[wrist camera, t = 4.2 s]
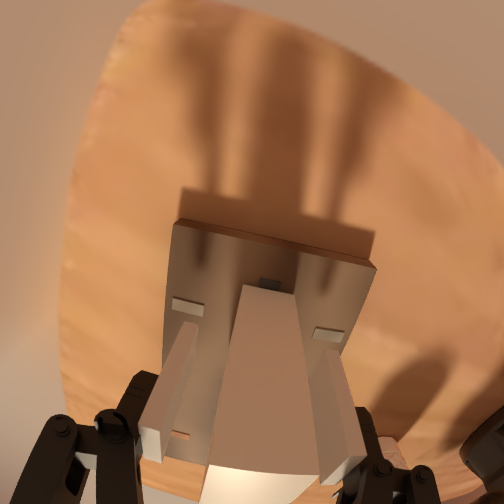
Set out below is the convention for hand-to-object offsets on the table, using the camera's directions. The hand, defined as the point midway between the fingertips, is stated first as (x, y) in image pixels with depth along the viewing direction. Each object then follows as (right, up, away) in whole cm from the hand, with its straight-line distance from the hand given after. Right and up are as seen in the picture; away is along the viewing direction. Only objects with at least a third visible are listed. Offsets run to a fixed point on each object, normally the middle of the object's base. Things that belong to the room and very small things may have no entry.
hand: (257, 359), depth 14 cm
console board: (-1, -6, +7) cm, 9 cm away
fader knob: (0, +1, +3) cm, 3 cm away
